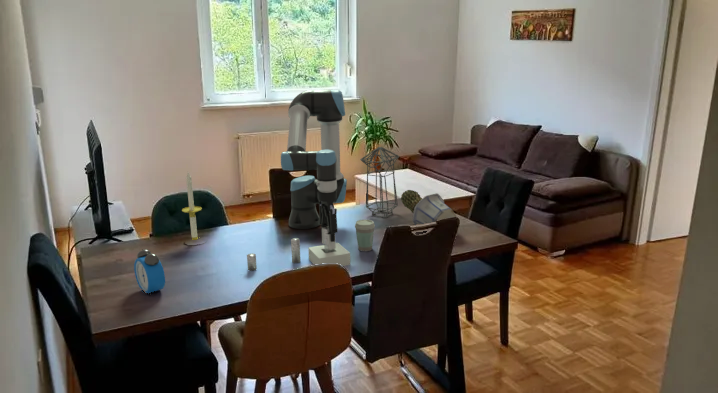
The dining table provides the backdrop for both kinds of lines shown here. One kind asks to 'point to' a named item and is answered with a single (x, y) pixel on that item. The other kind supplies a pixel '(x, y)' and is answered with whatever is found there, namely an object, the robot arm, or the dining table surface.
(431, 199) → the potted plant
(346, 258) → the hole block
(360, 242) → the coffee cup
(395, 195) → the geometric lantern
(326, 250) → the long pin
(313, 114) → the robot arm
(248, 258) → the short pin
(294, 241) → the medium pin
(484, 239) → the dining table surface
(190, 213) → the candlestick
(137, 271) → the alarm clock
